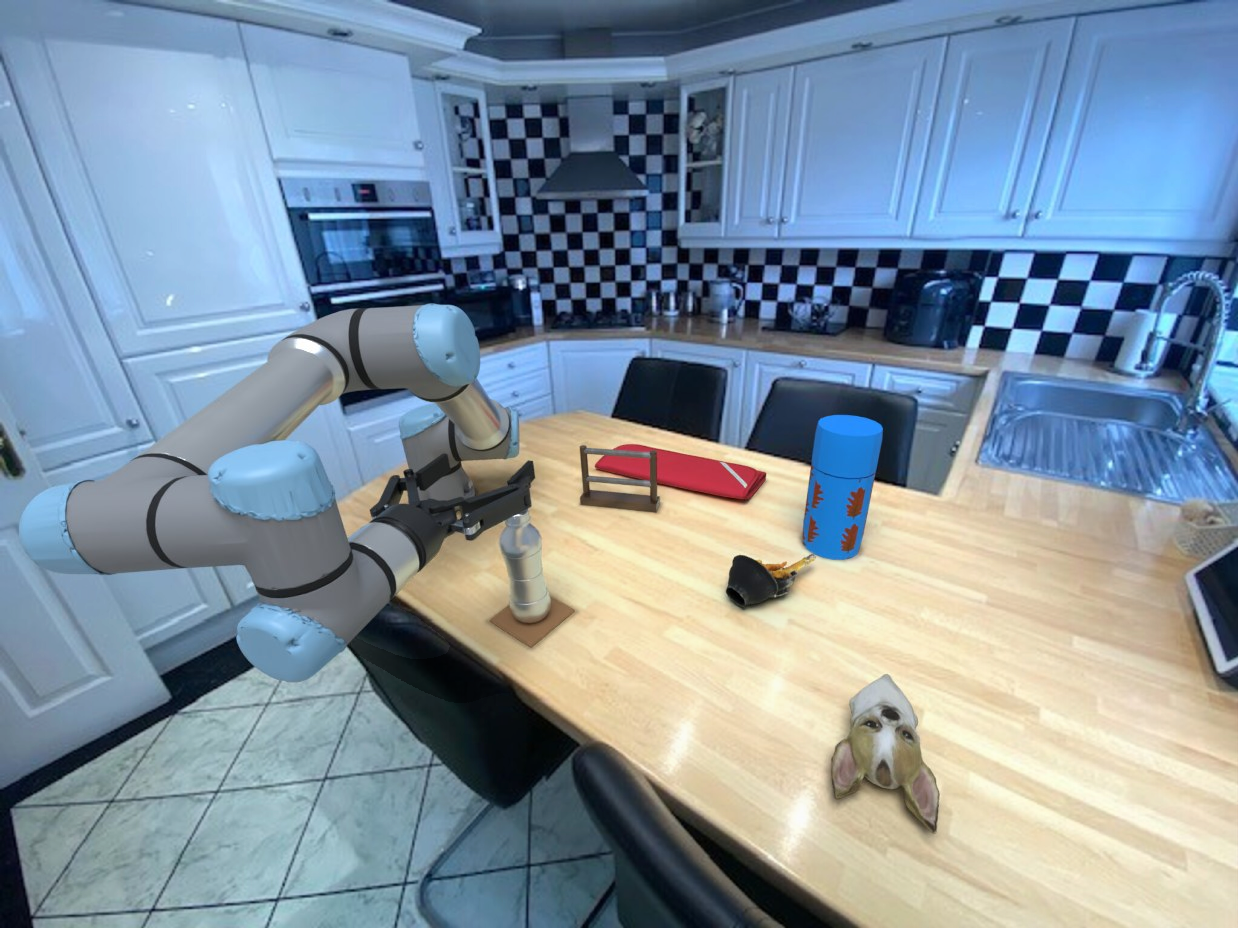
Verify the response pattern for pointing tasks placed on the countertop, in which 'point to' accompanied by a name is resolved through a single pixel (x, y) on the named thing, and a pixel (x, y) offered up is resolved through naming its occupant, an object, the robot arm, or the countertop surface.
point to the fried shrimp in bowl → (760, 579)
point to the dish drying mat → (687, 472)
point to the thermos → (840, 485)
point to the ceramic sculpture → (885, 750)
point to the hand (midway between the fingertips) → (488, 465)
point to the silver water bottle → (524, 568)
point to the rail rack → (617, 498)
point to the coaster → (532, 631)
